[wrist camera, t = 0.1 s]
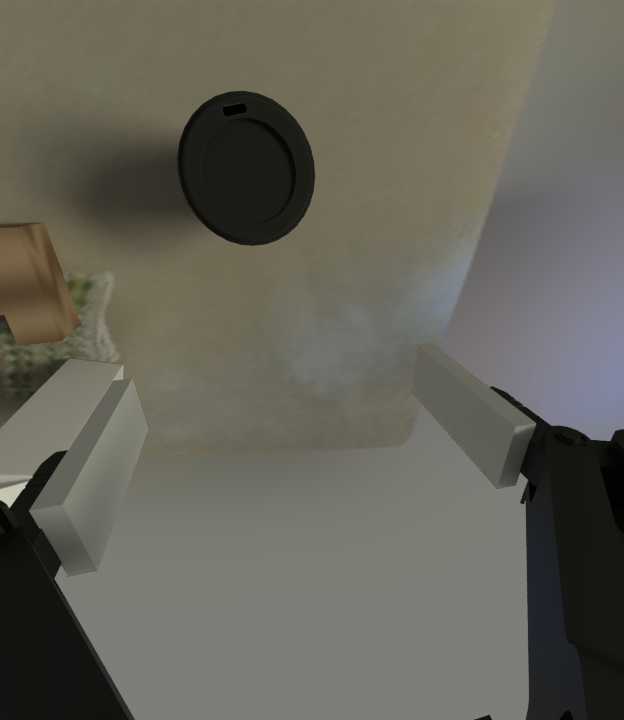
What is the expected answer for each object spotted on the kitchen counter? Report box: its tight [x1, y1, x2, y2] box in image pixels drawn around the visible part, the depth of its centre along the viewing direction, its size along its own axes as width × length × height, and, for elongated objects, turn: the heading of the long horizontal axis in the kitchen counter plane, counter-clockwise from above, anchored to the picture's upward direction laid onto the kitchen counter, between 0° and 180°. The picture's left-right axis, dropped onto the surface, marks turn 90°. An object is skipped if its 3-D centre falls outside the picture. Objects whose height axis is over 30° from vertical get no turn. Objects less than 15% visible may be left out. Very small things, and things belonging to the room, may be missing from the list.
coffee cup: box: [177, 91, 315, 246], centre depth 29 cm, size 10×10×15 cm
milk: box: [0, 359, 123, 508], centre depth 33 cm, size 6×6×22 cm
